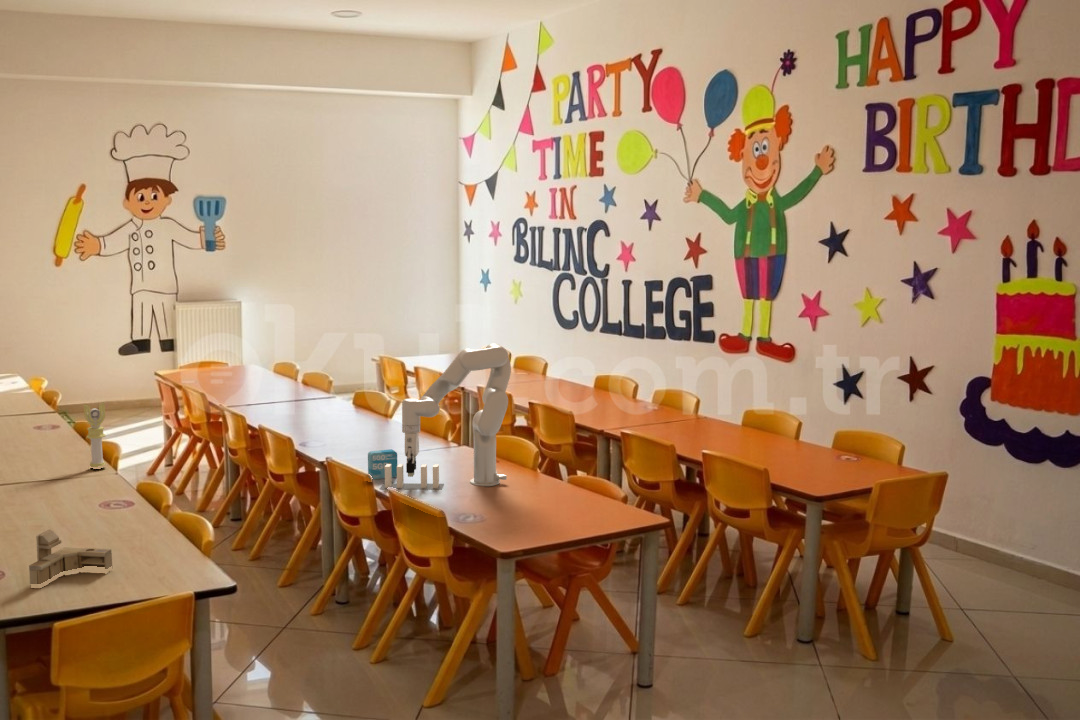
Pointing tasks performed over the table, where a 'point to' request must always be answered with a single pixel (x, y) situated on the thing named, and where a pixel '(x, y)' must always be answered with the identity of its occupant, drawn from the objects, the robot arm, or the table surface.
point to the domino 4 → (424, 476)
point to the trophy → (95, 432)
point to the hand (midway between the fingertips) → (411, 470)
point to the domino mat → (413, 487)
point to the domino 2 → (400, 476)
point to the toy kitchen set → (63, 558)
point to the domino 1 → (388, 476)
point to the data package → (381, 463)
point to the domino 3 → (410, 473)
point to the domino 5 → (435, 475)
